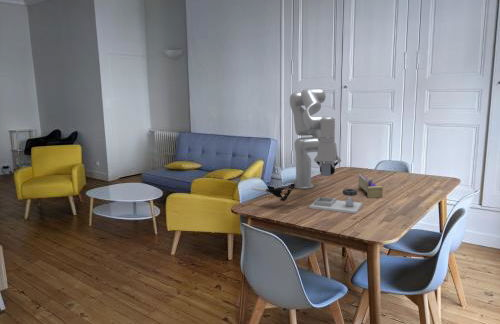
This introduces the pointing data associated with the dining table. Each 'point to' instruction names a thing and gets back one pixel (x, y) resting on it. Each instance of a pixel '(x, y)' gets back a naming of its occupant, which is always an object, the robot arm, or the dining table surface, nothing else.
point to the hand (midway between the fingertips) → (327, 173)
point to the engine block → (326, 169)
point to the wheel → (349, 192)
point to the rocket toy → (277, 191)
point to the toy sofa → (369, 187)
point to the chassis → (336, 205)
